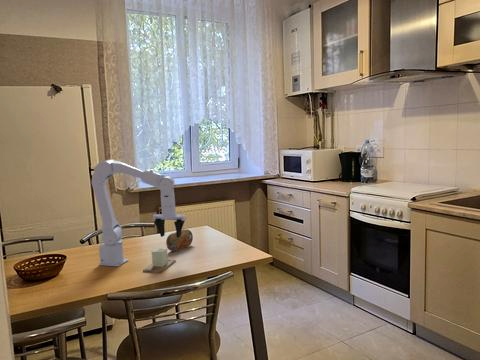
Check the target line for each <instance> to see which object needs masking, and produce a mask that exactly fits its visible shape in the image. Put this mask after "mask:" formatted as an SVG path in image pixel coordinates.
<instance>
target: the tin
mask: <svg viewBox="0 0 480 360" xmlns="http://www.w3.org/2000/svg"><path fill="white" fill-rule="evenodd" d="M193 238H194V236H193V233H192V231H191V230H190V229H182V230H181V236H180V237H179V238H177V235H176V231H175V232H172V233H169V235H168V236H167V238H166V240H165V241H166V242H165V244H166V245H165V246H166V249H167V250H169V251H171V252H179V251H182V250H183V249H186V248H189V247H190V246H191V245H192V243H193Z"/></svg>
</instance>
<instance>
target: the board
mask: <svg viewBox="0 0 480 360" xmlns="http://www.w3.org/2000/svg"><path fill="white" fill-rule="evenodd" d="M175 263H176V259H168V263H167V264H166V265H165V266H163V267H156V266H153V263H150V264H149V265H148V266H147V267H144V268H143V269H142V272H143V273H151V274H152V273H154V274H162V273H163V272H164V271H166V270H167V269H169V267H171V266H172V265H174V264H175Z"/></svg>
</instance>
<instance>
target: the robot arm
mask: <svg viewBox="0 0 480 360" xmlns="http://www.w3.org/2000/svg"><path fill="white" fill-rule="evenodd" d="M120 173H121V174H122V173H123V174H126V175H129V176H132V177H135V178H139V179H140V180H141V181H142V183H143V184H146V185H149V186H152V187H154V188H158V189H159V190H160V205H161V214H158V213H157V214H153V215H152V220H154V222H153V223H154V225H155V226H156V228H157V230H158V232H159V235H160V237H165V235H166V233H165V231H166V230H165V221H174V222H173V223H174V227H175V232H176V235H177V238H179V237H180V236H181V230H183V226H184V224H185V222H186V219H187V216H186V214H178V213H176V212H177V211H176V198H175V189H174V186H175V180H174V178H173V177H171V176H170V175H165V174H164V173H161V174H160V173H158V172H155V170H154V169H152V168H151V169H145V170H141V169H140V168H139V169H138V168H136V167H134V166H132V165H129V164H127V163H125V162H122V161H119V160H115V159H112V158H110V159H107V160H102V161H99V162H98V163H97V164H96V165H95V166H94V168H93V175H92V178H91V186H92V189H93V193H94V197H95V200H96V203H97V207H98V211H99V214H100V218H101V221H102V225H101V231H102V234H101V240H102V242H101V243H100V245H99V247H98V253H99V264H98V265H99V266H105V267H107V266H108V267H120V266H121V265H123V264H124V263H126V262H128V261H129V259H128V258H125V254H124V247H123V246H124V245H123V239H122V237H123V235H124V230H123V227H121V225H120V222H119V221H118V220H117V218H116V216H115V213H114V209H113V205H112V202H111V198H110V194H109V191H108V187H107V182H108V180H109V179H110V178H111V177H112V176H113V175H115V174H120Z"/></svg>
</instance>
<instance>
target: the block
mask: <svg viewBox="0 0 480 360" xmlns="http://www.w3.org/2000/svg"><path fill="white" fill-rule="evenodd" d="M151 259H152V260H151V261H152V263H153V266H156V267H163V266H165V265H166V264H167V263H168V248H159V247H158V248H155V249H154V250H152V251H151ZM152 263H151V264H152Z"/></svg>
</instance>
